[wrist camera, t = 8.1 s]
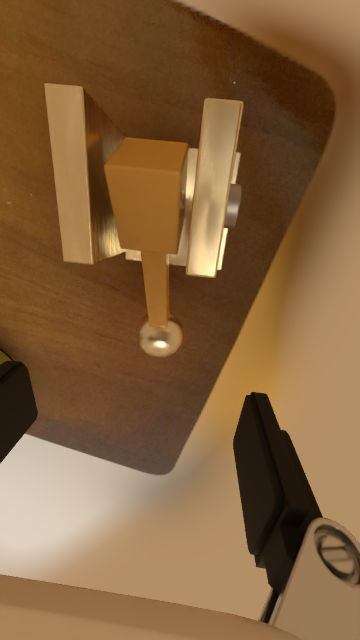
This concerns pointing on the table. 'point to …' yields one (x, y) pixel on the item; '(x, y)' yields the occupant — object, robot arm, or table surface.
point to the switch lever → (151, 226)
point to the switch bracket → (93, 195)
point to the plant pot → (3, 357)
